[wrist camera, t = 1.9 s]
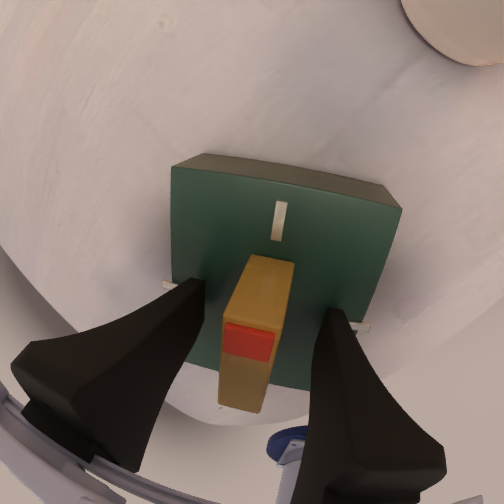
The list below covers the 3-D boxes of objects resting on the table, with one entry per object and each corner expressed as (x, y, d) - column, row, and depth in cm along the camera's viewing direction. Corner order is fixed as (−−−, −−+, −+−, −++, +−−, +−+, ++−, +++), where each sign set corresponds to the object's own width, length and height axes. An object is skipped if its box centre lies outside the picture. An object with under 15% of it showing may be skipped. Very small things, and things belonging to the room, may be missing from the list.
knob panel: (334, 354, 16) (333, 397, 13) (190, 322, 17) (169, 359, 14) (393, 188, 11) (415, 213, 8) (193, 152, 12) (158, 166, 10)
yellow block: (274, 350, 12) (258, 420, 9) (239, 342, 13) (215, 409, 9) (295, 261, 10) (281, 334, 7) (250, 252, 10) (219, 320, 7)
